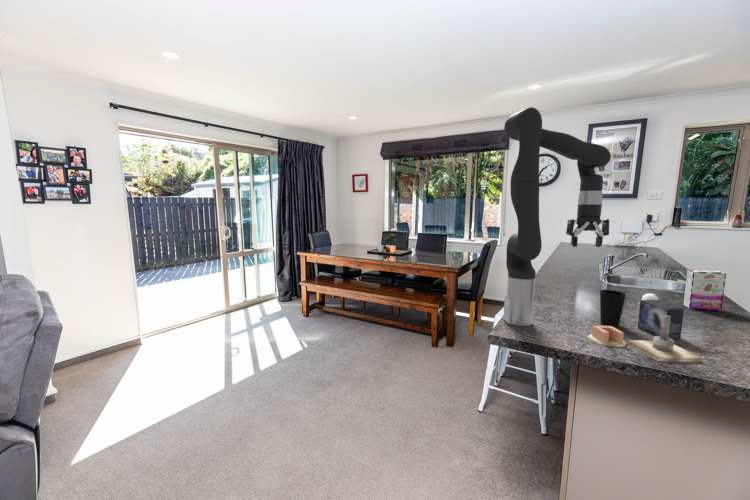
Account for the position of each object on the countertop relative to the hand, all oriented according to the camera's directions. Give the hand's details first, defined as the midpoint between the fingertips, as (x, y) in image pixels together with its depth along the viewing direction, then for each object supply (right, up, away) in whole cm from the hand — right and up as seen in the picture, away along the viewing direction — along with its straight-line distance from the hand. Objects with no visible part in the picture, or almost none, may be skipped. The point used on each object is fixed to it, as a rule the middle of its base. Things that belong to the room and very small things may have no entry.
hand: (586, 246), depth 126 cm
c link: (-5, -30, -19) cm, 36 cm away
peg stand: (+5, -32, -27) cm, 42 cm away
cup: (+6, -29, -3) cm, 30 cm away
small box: (+17, -30, -12) cm, 36 cm away
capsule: (+32, -27, +10) cm, 43 cm away
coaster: (-5, -31, -19) cm, 36 cm away
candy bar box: (+59, -27, +16) cm, 67 cm away
